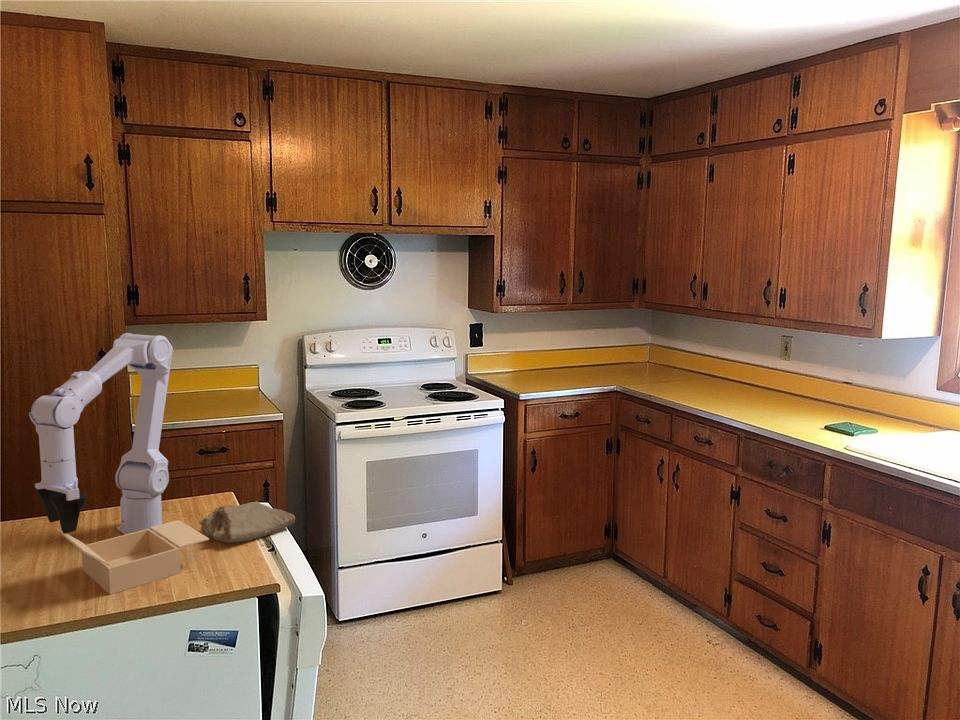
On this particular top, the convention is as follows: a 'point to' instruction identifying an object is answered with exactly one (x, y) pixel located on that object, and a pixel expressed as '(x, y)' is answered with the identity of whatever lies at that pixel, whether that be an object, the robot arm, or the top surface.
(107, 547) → the carton
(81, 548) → the cardboard box flap
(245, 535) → the artifact
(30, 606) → the top surface
